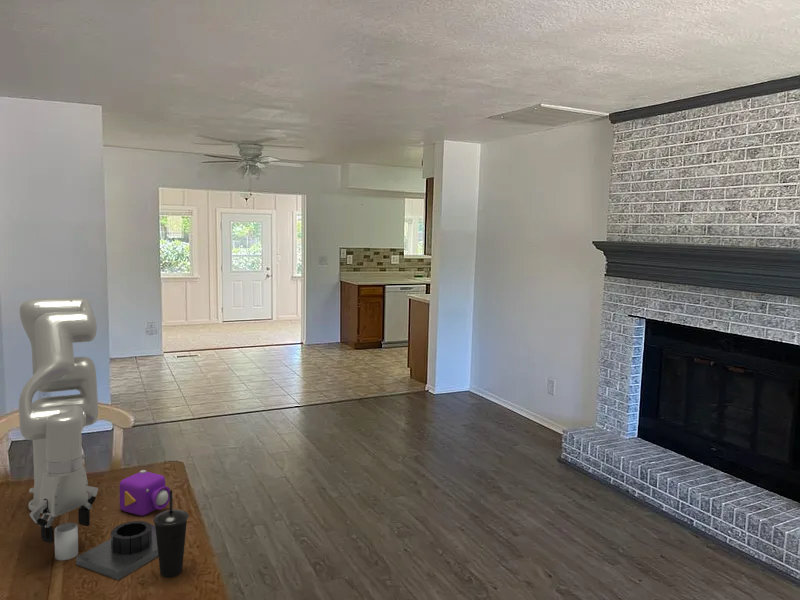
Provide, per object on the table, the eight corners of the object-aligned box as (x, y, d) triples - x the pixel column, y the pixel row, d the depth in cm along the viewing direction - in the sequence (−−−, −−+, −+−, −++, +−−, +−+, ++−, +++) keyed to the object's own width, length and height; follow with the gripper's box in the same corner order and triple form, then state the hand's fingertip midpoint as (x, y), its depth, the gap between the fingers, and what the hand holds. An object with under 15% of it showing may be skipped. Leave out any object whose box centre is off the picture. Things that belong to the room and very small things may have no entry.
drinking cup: (177, 559, 147) (177, 481, 145) (194, 571, 142) (194, 490, 140) (147, 572, 141) (146, 491, 139) (164, 585, 136) (164, 501, 134)
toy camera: (157, 521, 166) (157, 486, 165) (114, 514, 169) (113, 480, 168) (179, 504, 177) (179, 471, 176) (138, 498, 179) (137, 466, 178)
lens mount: (76, 564, 143) (75, 540, 142) (143, 528, 161) (142, 507, 161) (118, 580, 137) (118, 555, 137) (182, 541, 156) (182, 519, 155)
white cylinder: (50, 557, 146) (49, 528, 145) (69, 547, 151) (68, 520, 150) (64, 562, 144) (63, 533, 143) (82, 552, 149) (82, 524, 148)
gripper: (85, 451, 154) (87, 516, 155) (19, 474, 138) (21, 545, 140) (106, 456, 151) (107, 521, 152) (40, 479, 135) (43, 552, 137)
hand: (66, 533), depth 146 cm, fingers open, 9 cm apart
